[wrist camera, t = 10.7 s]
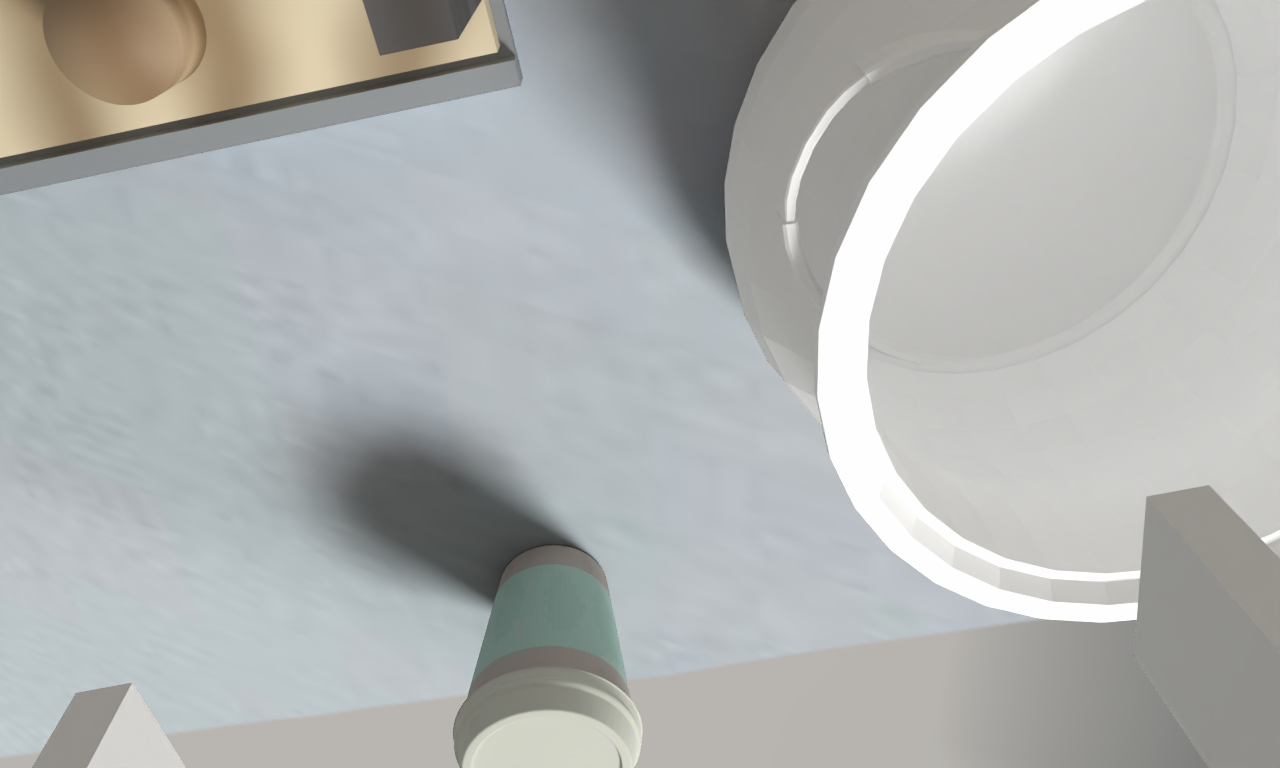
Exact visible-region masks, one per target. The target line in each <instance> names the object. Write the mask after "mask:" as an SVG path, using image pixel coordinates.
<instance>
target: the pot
mask: <svg viewBox="0 0 1280 768" xmlns="http://www.w3.org/2000/svg"><path fill="white" fill-rule="evenodd" d="M724 190H725V221H726V242H727V247H728V251H729V255H730V259H731V263H732V267H733V271H734V275H735V279H736V283H737V287H738V291H739V295H740V299H741V303H742V307H743V311H744V315H745V317H746V319H747V321H748V323H749V325H750V327H751V329H752V331H753V333H754V335H755V337H756V339H757V341H758V343H759V345H760V347H761V349H762V351H763V353H764V355H765V357H766V359H767V361H768V363H769V364H770V365H771V366H772V367H773V369H774V370H775V371H776V372H777V373H778V375H779V376H780V377H781V378H782V380H783V381H784V382H785V383H786V384H787V386H788V387H789V388H790V389H791V390H792V392H793V393H794V394H795V395H796V397H797V398H798V399H799V400H800V401H801V402H802V404H803V405H804V406H805V407H806V408H807V409H808V410H809V411H810V413H811V414H812V415H813V416H814V417H815V418H816V419H817V421H819V422H820V423H821V424H822V428H823V433H824V438H825V442H826V447H827V451H828V454H829V456H830V458H831V460H832V462H833V464H834V466H835V468H836V470H837V472H838V474H839V476H840V478H841V480H842V482H843V484H844V486H845V488H846V491H847V493H848V495H849V497H850V499H851V501H852V503H853V505H854V507H855V509H856V510H857V511H858V512H859V513H860V514H861V516H862V517H863V518H864V519H865V520H866V522H867V523H868V524H869V525H870V526H871V527H872V529H873V530H874V531H875V532H876V533H877V534H878V536H879V537H880V538H881V539H882V540H883V541H884V543H885V544H886V545H887V546H888V547H889V549H890V550H891V551H893V552H894V553H895V554H897V555H898V556H899V557H901V558H902V559H903V560H905V561H906V562H907V563H909V564H910V565H911V566H913V567H914V568H915V569H917V570H918V571H920V572H921V573H922V574H924V575H925V576H926V577H928V578H929V579H930V580H932V581H933V582H934V583H936V584H938V585H941V586H943V587H945V588H947V589H949V590H952V591H954V592H956V593H958V594H960V595H963V596H965V597H967V598H969V599H972V600H974V601H976V602H978V603H980V604H983V605H985V606H988V607H992V608H997V609H1001V610H1006V611H1010V612H1014V613H1019V614H1023V615H1027V616H1032V617H1036V618H1040V619H1051V620H1069V621H1088V622H1114V621H1124V620H1136V619H1137V608H1138V595H1139V583H1140V571H1141V558H1142V546H1143V533H1144V521H1145V509H1146V496H1152V495H1157V494H1163V493H1168V492H1174V491H1179V490H1185V489H1190V488H1195V487H1201V486H1206V485H1209V486H1210V487H1211V488H1212V489H1213V490H1214V491H1215V492H1216V493H1217V494H1218V495H1219V496H1220V497H1221V498H1222V499H1223V500H1224V501H1225V502H1226V503H1227V504H1228V505H1229V506H1230V507H1231V508H1232V509H1233V510H1234V511H1235V512H1236V514H1237V515H1238V516H1239V517H1240V518H1241V519H1242V520H1243V521H1244V522H1245V523H1246V524H1247V525H1248V526H1249V527H1250V528H1251V529H1252V530H1253V531H1254V532H1255V533H1256V534H1257V535H1258V536H1259V537H1260V538H1261V539H1262V540H1263V542H1264V543H1265V544H1266V545H1267V546H1268V547H1269V548H1270V549H1271V550H1272V551H1273V552H1274V553H1275V554H1276V555H1277V556H1278V557H1279V558H1280V0H796V2H795V3H794V4H793V5H792V7H791V8H790V10H789V12H788V13H787V15H786V17H785V18H784V20H783V22H782V23H781V25H780V27H779V28H778V30H777V32H776V33H775V35H774V37H773V38H772V40H771V42H770V43H769V45H768V47H767V48H766V50H765V52H764V53H763V55H762V57H761V59H760V60H759V62H758V64H757V66H756V69H755V71H754V74H753V77H752V79H751V82H750V85H749V87H748V90H747V93H746V95H745V98H744V101H743V103H742V106H741V109H740V111H739V114H738V117H737V119H736V122H735V125H734V131H733V136H732V142H731V148H730V154H729V160H728V166H727V172H726V178H725V184H724Z"/></svg>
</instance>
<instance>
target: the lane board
mask: <svg viewBox="0 0 1280 768" xmlns="http://www.w3.org/2000/svg"><path fill="white" fill-rule="evenodd" d="M489 4H490V8H491V12H492V16H493V20H494V24H495V28H496V32H497V36H498V39H499V43H500V47H499V49H498V52H497V53H492V54H487V55H483V56H478V57H473V58H468V59H464V60H459V61H454V62H450V63H445V64H440V65H436V66H431V67H426V68H421V69H417V70H412V71H407V72H403V73H398V74H393V75H388V76H384V77H379V78H374V79H370V80H365V81H360V82H356V83H351V84H346V85H341V86H337V87H332V88H327V89H323V90H318V91H313V92H308V93H304V94H299V95H294V96H290V97H285V98H280V99H276V100H271V101H266V102H261V103H257V104H252V105H247V106H243V107H238V108H233V109H228V110H224V111H219V112H214V113H210V114H205V115H200V116H195V117H191V118H186V119H181V120H177V121H172V122H167V123H163V124H158V125H153V126H148V127H144V128H139V129H134V130H130V131H125V132H120V133H115V134H111V135H106V136H101V137H97V138H92V139H87V140H83V141H78V142H73V143H68V144H64V145H59V146H54V147H50V148H45V149H40V150H35V151H31V152H26V153H21V154H17V155H12V156H7V157H3V158H0V195H4V194H9V193H13V192H18V191H23V190H28V189H32V188H37V187H42V186H47V185H51V184H56V183H61V182H66V181H70V180H75V179H80V178H85V177H89V176H94V175H99V174H104V173H108V172H113V171H118V170H123V169H127V168H132V167H137V166H142V165H146V164H151V163H156V162H161V161H165V160H170V159H175V158H180V157H184V156H189V155H194V154H199V153H203V152H208V151H213V150H218V149H222V148H227V147H232V146H237V145H241V144H246V143H251V142H256V141H260V140H265V139H270V138H275V137H279V136H284V135H289V134H294V133H298V132H303V131H308V130H313V129H317V128H322V127H327V126H332V125H336V124H341V123H346V122H351V121H355V120H360V119H365V118H370V117H374V116H379V115H384V114H389V113H393V112H398V111H403V110H408V109H412V108H417V107H422V106H427V105H431V104H436V103H441V102H446V101H450V100H455V99H460V98H465V97H469V96H474V95H479V94H484V93H488V92H493V91H498V90H503V89H507V88H512V87H517V86H521V82H522V78H523V77H522V73H521V69H520V65H519V60H518V56H517V52H516V48H515V44H514V40H513V36H512V32H511V28H510V24H509V20H508V16H507V12H506V8H505V4H504V0H489Z"/></svg>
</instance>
